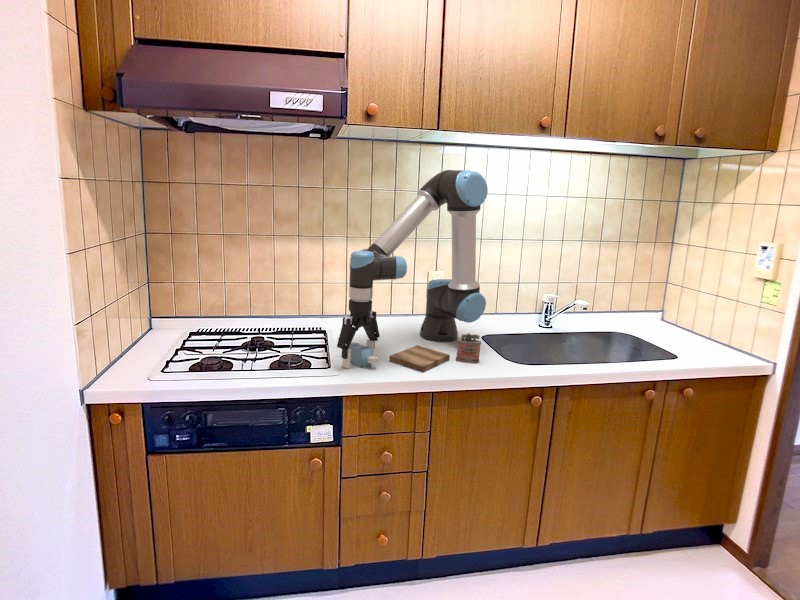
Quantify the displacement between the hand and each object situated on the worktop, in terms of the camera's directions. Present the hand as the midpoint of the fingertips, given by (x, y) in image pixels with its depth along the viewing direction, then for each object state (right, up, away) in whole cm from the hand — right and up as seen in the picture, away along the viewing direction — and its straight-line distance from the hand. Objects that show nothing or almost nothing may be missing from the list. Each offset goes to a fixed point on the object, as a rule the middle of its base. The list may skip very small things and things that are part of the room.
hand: (358, 362), depth 167 cm
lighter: (+38, -1, +8) cm, 38 cm away
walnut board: (+21, 0, +5) cm, 21 cm away
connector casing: (+1, 0, -1) cm, 1 cm away
